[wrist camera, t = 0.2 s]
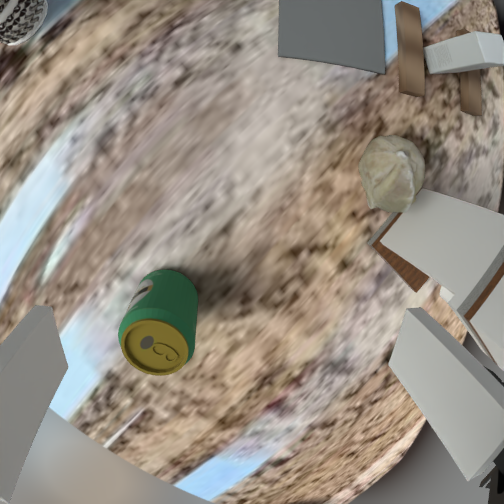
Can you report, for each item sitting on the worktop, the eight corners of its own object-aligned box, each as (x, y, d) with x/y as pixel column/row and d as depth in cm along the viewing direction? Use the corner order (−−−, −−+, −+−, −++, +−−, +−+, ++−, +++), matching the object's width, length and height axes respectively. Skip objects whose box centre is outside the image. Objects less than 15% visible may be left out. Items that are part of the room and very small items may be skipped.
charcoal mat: (279, -32, 27) (280, -34, 27) (378, -11, 29) (379, -12, 28) (277, 56, 32) (278, 55, 31) (383, 74, 33) (385, 73, 33)
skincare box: (447, 47, 32) (502, 34, 21) (455, 73, 34) (512, 65, 22) (419, 47, 32) (475, 30, 21) (428, 74, 34) (486, 64, 22)
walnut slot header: (394, 5, 30) (401, 1, 28) (468, 37, 32) (476, 35, 30) (398, 92, 34) (406, 90, 32) (473, 115, 36) (481, 115, 34)
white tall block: (367, 242, 41) (576, 422, 8) (413, 185, 39) (648, 286, 6) (409, 287, 44) (569, 441, 11) (450, 235, 42) (630, 348, 9)
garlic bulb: (370, 216, 40) (411, 238, 30) (327, 172, 37) (363, 183, 28) (411, 166, 38) (459, 176, 29) (373, 120, 35) (418, 117, 26)
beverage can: (159, 254, 38) (139, 299, 27) (210, 289, 40) (210, 344, 29) (128, 299, 40) (102, 352, 28) (176, 330, 42) (167, 390, 31)
